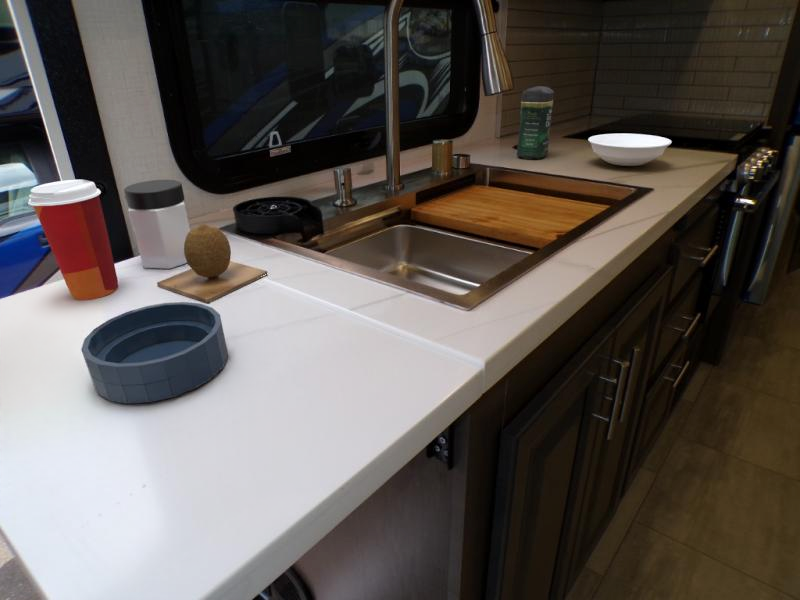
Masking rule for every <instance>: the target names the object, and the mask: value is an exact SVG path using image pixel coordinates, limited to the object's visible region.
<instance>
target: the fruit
mask: <svg viewBox="0 0 800 600" xmlns="http://www.w3.org/2000/svg"><path fill="white" fill-rule="evenodd" d="M184 254H185V258H186V261H187V263H186V264H188V266H189V267H190V269H192V270H193V271H194V272H195V273H196V274H197V275H199V276H203V277H207V278H216V277H218V276H219V275H221V274H222V273H223V272H225V271H226V270H227V268H228V266H229V263H230V261H231V256H232V250H231V245H230V241H229V239H228V237H227V236H226V234H225V233H224V232H223V231H222V230H220V228H218V227H217V226H214V225H207V224H205V223H201V224H200V225H198V226H197V227H195V228H191V230H190V231H189V233H188V234H187V237H186V240H185V243H184Z"/></svg>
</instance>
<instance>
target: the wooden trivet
mask: <svg viewBox="0 0 800 600" xmlns="http://www.w3.org/2000/svg"><path fill="white" fill-rule="evenodd" d="M267 273H268V274H269V272H268V270H265V269H261V268H258V267H254V266H250V265H248V264H247V265H246V264H243V263H239V262H236V261H233V260H230V263H229V266H228V268H227V270H226V271H225V272H223V273H222V274H221V275H219V276H218V277H216V278H207V277H203V276H199V275H197V274H196V273H195V272H194V271H193V270H192V268H190V269H187V270H185V271H181V272H179V273H177V274H174V275H172V276H170V277H167V278H165V279H162V280H159V281H157V282H156V286H157V287H158V288H162V289H165V290H166V291H167V290H168V291H170V292H173V293H175V294H179V295H182V296H185V297H188V298H191V299H193V300H196V301H199V302H203V303H205V304H209V303H211V302H214V301H216V300H217V299H220V298H222V297H224V296H226V295H229V294H230V293H232V292H235V291H236V290H239V289H241V288H243V287H245V286H247V285H249V284H251V283H253V282H256V281H257V280H259V278H260V277H261V276H263V275H265V274H267ZM260 279H261V278H260Z"/></svg>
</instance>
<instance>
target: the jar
mask: <svg viewBox="0 0 800 600" xmlns="http://www.w3.org/2000/svg"><path fill="white" fill-rule="evenodd" d="M183 189H184V188H183V183H182V182H181V181H179V180H176V179H153V180H146V181H145V180H144V181H140V182H137V183H136V182H135V183H132V184H130V185H127V186H126V187H124V189H123V193H124V199H125V201H126V204H127V207H128V210H127V211H128V215H129V219H130V223H131V227H132V230H133V235H134V238H135V241H136V245H137V249H138V253H139V257H140V261H141V263H142V264H141V265H142V267H143V268H144V269H161V270H163V269H164V270H165V269H166V270H167V269H168V270H170V269H171V270H172V269H174V268H177V267H180V266H183V265H185V264H188V263H187V261H186V258H185V254H184V243H185V240H186V237H187V234H188V233H189V231H190V230H192V228H191V223H190V218H189V214H188V208H187V205H186V200H185V192H184V190H183Z"/></svg>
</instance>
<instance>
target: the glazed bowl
mask: <svg viewBox="0 0 800 600" xmlns="http://www.w3.org/2000/svg"><path fill="white" fill-rule="evenodd" d="M223 327H224V326H223V323H222V318H221V314H220V313H219V312H218V311H217V310H216V309H214V307H212V306H208V305H205V304H202V303H198V302H189V301H175V302H162V303H157V304H151V305H146V306H142V307H140V308H136V309H132V310H128V311H126V312H124V313H121V314H119V315H117V316H114V317H112V318H109V319H108V320H106V321H105V322H103V323H102V324H100V325H98V326H96V327H95V328H94V329H93V330H91V331H90V333H89V334H87V336H86V337H85V338H84V339H83V342H82V345H81V349H80V351H81V353H82V357H83V359H84V362H85V364H86V365H85V366H86V368H87V371H88V374H89V377H90V379H91V382H92V385H93V387H94V389H95V392H96V393H97V394H98V395H100V396H102V398H105V399H106V400H108V401H111V402H118V403H123V404H139V403H140V404H141V403H142V404H143V403H153V402H157V401H161V400H166V399H170V398H171V399H172V398H174V397H175V398H176V397H177V396H180V395H182V394H184V393H187V392H190V391H193V390H194V389H196V388H198V387H200V386H201V385H204V384H205V383H206V382H209V381H210V380H211V379H213V378H214V377H215V376H216V375H217V374H218V373H219V372H220V371H221V370H222V369H223V368H224V366H225V364H226V363H227V359H228V358H229V352H228V347H227V341H226V338H225V332H224V328H223Z"/></svg>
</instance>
